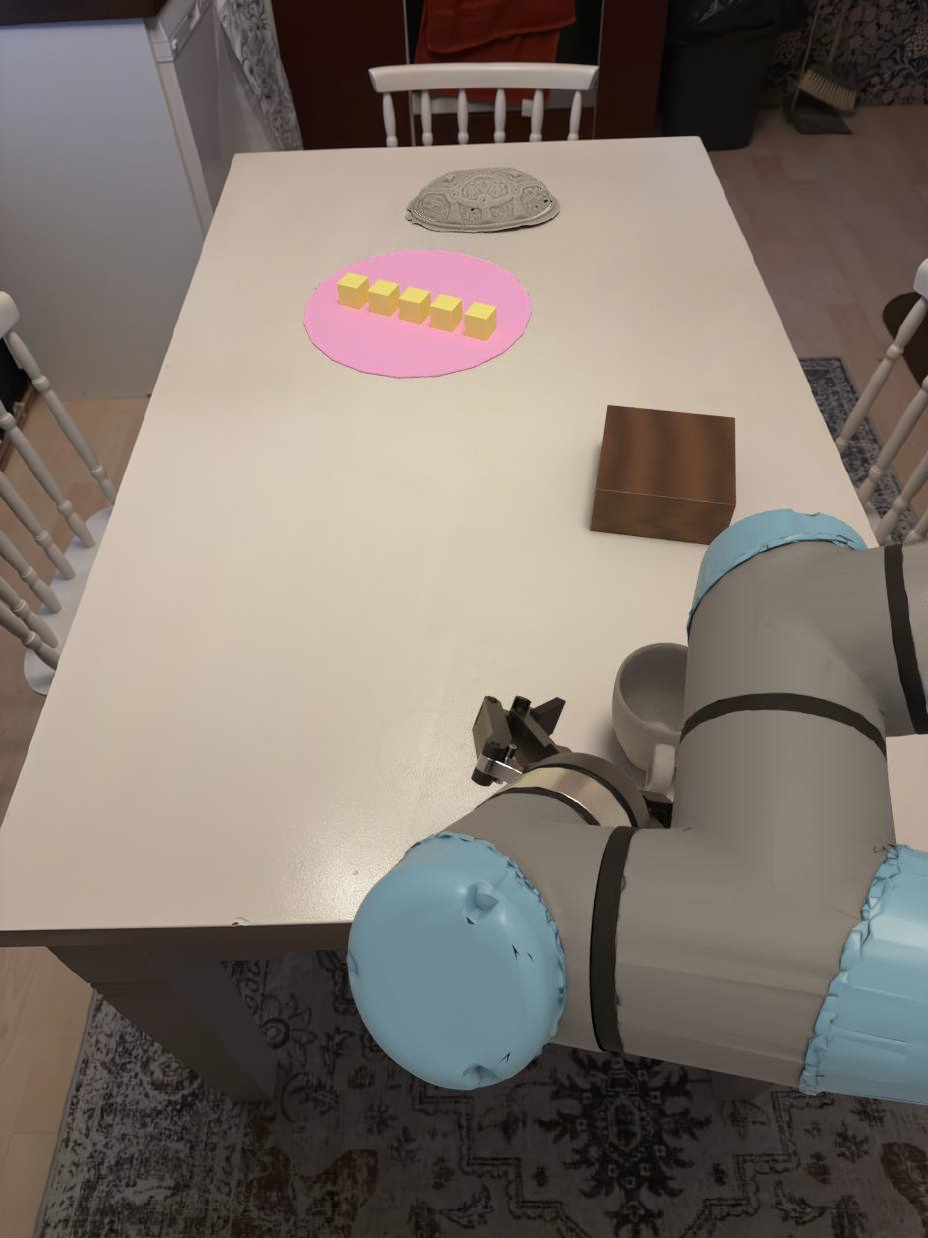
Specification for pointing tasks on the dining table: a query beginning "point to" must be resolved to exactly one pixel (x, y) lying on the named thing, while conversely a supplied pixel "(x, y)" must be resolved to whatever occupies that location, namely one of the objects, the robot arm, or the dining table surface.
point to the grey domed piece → (468, 189)
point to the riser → (665, 475)
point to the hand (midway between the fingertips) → (639, 755)
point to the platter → (417, 313)
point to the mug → (651, 710)
